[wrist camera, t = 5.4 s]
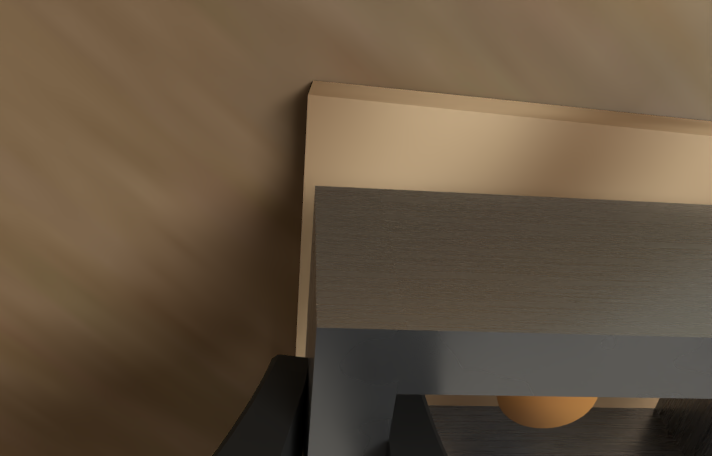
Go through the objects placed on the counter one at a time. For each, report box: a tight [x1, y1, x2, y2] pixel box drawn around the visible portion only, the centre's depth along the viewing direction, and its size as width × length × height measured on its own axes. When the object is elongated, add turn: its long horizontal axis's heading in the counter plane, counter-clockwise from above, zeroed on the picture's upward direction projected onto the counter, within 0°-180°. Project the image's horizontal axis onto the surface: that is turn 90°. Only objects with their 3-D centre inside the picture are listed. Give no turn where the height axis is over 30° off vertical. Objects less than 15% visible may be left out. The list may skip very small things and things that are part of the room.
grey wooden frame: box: [302, 186, 712, 456], centre depth 12 cm, size 10×7×4 cm
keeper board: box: [296, 80, 712, 428], centre depth 14 cm, size 11×9×4 cm
